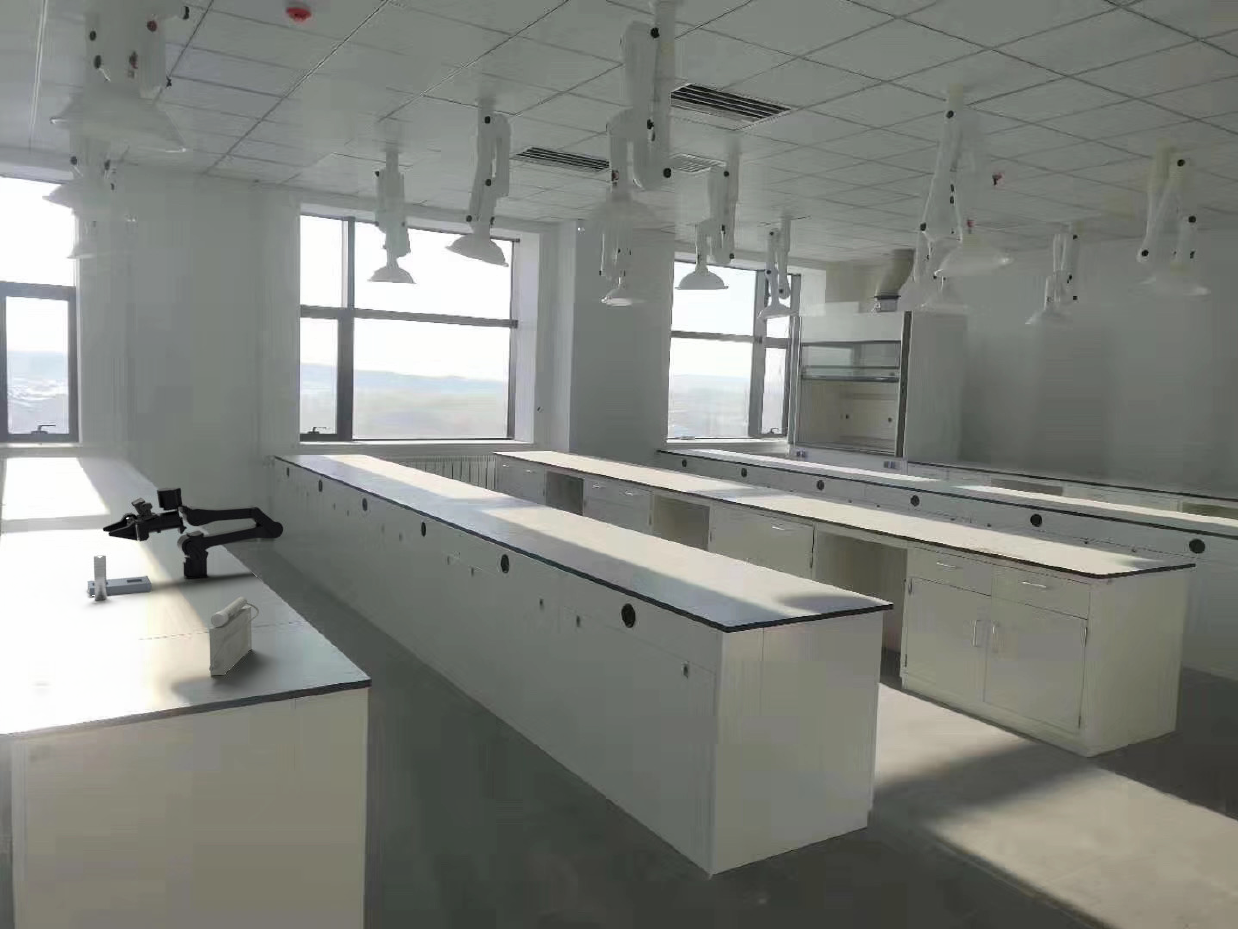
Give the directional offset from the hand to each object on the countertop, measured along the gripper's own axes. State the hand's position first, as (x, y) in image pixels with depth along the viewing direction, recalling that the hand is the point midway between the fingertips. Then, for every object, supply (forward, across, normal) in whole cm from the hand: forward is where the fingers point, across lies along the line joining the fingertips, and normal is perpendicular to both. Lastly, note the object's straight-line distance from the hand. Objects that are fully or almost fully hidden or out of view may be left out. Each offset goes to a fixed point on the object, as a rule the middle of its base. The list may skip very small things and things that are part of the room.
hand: (105, 531), depth 276 cm
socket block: (0, +8, +17) cm, 19 cm away
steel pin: (+6, +16, +16) cm, 24 cm away
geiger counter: (-7, +96, +18) cm, 98 cm away
